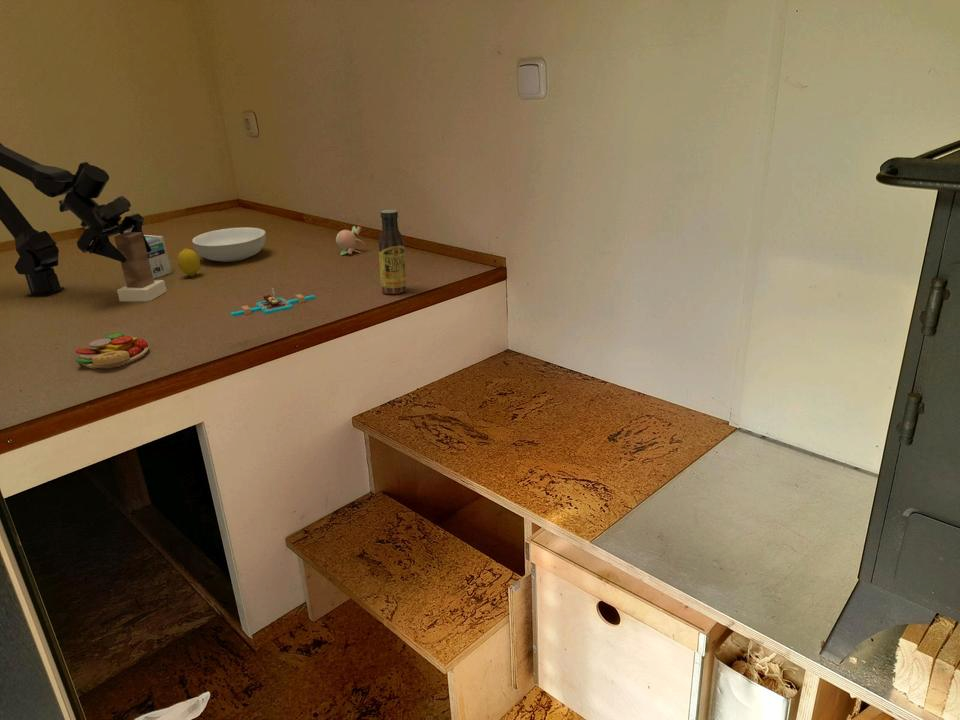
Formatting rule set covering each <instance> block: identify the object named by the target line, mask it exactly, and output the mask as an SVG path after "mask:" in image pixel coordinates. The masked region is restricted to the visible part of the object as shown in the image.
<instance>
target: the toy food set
mask: <svg viewBox="0 0 960 720" xmlns="http://www.w3.org/2000/svg"><path fill="white" fill-rule="evenodd" d="M89 347H90V348H78V349H75V353H76V354H77V355H79V357H78V358H76V359H75V362H76V363H77V364H78V363H79V364H80V365H81V366H84V367H86V368H88V367H91V368H90V369H92V368H106V369H111V368H110V367H114V368H117V367H116V366H118V367H120V366H119V365H122V366H124V365H123V364H126V365H128V364H127V363H129V364H131V363H130V362H132V361H134V362H136V361H138V360H140V359H142V358H143V357H144V356H145V355H146V354H147V353H148V352H149V349H150V346H149V344H148V342H147V341H146V340H145V339H144V338H138V337H134V336H129V335H125V334H124V333H123V332H114V333H110V334H108V335H106V336H105V337H104V338H98V339H95V340H93V341H91V342H89ZM145 353H146V354H145ZM143 355H144V356H143ZM142 356H143V357H142ZM139 358H140V359H139ZM137 359H138V360H137ZM135 360H136V361H135ZM132 363H133V362H132Z"/></svg>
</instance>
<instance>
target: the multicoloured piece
mask: <svg viewBox="0 0 960 720" xmlns="http://www.w3.org/2000/svg"><path fill="white" fill-rule="evenodd" d="M271 292H272V296H271V295H270V294H269V295H263V299H264V300H263V301H258V302H256V304H255V305H256V307H252V308H251V307H249V305H242V306H241V310H239V311H232V312H230V315H231V317H236V316H242V315H245V316H247V315H251V314H252V313H256V312H259V311H261V310H262V311H261V312H263V314H265V315H267V314H272V313H277V312H280V311H286V310H291V309H293V305H292V304H296V303H299V304H300V303H306V302H307V301H311V300H315V299H316V296H315V295H314V294H313V295H308V296H307V295H306V296H304V295H302V294H301V293H298V294H295V298H294V299H289V300H287V299H285V298H284V297H276V295H275V289H274V287H272V288H271Z"/></svg>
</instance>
